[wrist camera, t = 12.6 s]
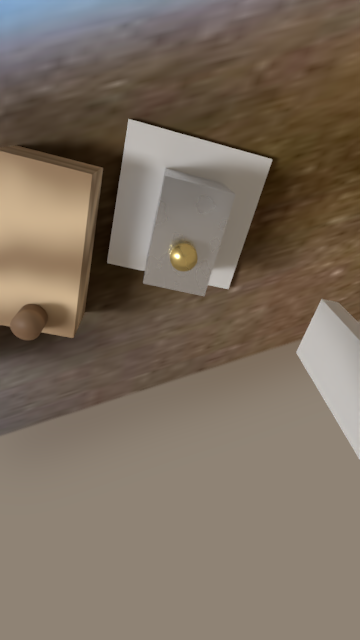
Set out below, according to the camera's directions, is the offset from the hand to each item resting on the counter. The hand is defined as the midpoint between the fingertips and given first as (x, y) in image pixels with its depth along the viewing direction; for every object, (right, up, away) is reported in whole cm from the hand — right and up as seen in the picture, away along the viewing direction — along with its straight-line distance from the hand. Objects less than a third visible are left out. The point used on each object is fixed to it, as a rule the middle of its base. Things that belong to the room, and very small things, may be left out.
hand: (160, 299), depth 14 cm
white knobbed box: (+1, +8, +17) cm, 19 cm away
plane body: (-11, +7, +18) cm, 22 cm away
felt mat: (+1, +9, +17) cm, 19 cm away
